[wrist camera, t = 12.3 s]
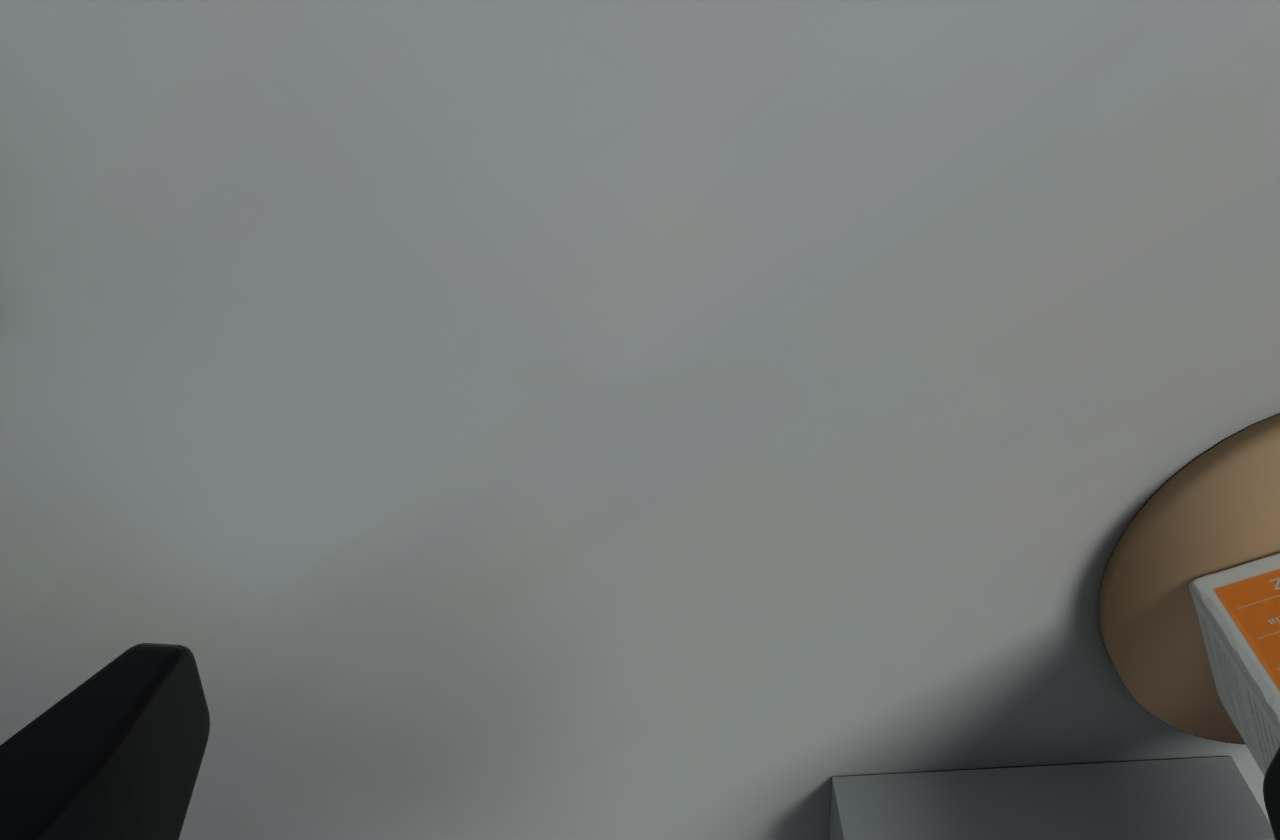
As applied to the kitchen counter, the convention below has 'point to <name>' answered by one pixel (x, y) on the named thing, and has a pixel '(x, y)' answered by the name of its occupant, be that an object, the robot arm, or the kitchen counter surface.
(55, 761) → the robot arm
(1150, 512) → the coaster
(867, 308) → the kitchen counter surface
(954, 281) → the kitchen counter surface
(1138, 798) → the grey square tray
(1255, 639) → the skincare box
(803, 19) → the kitchen counter surface
